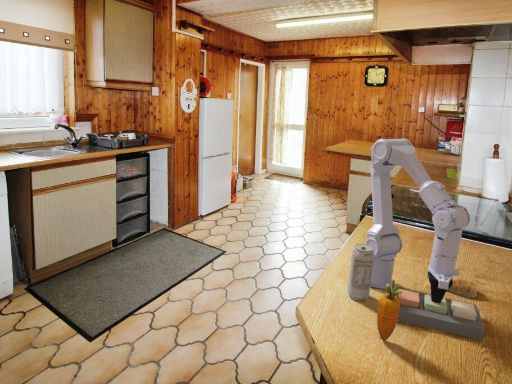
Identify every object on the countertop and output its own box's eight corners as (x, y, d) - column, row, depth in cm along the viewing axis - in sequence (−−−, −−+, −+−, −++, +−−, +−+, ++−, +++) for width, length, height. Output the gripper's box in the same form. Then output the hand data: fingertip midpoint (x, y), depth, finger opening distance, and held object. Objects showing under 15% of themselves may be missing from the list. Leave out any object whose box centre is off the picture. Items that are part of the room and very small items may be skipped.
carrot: (389, 334, 88) (398, 277, 84) (398, 347, 84) (407, 288, 80) (369, 333, 88) (377, 277, 84) (376, 347, 83) (385, 288, 79)
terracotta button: (397, 307, 97) (398, 297, 96) (397, 298, 101) (398, 288, 100) (417, 312, 95) (419, 302, 94) (416, 302, 99) (418, 293, 99)
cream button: (451, 320, 92) (454, 309, 91) (449, 310, 97) (451, 299, 96) (474, 325, 90) (476, 314, 90) (471, 314, 95) (473, 304, 94)
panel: (389, 318, 94) (391, 308, 94) (391, 296, 105) (392, 287, 105) (482, 340, 87) (485, 330, 86) (474, 314, 98) (476, 304, 97)
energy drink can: (368, 292, 107) (375, 245, 103) (368, 303, 101) (375, 253, 97) (347, 288, 108) (353, 241, 105) (346, 299, 103) (351, 249, 99)
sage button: (423, 313, 94) (425, 303, 94) (422, 304, 99) (424, 294, 98) (445, 318, 93) (447, 308, 92) (443, 308, 97) (445, 298, 96)
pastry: (441, 292, 109) (443, 281, 108) (439, 282, 115) (441, 271, 114) (477, 300, 106) (479, 288, 105) (473, 289, 112) (475, 278, 111)
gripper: (467, 268, 84) (456, 320, 87) (458, 245, 97) (449, 291, 100) (433, 262, 86) (424, 312, 90) (429, 240, 99) (421, 285, 103)
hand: (435, 301), depth 95 cm, fingers closed, pressing on sage button
